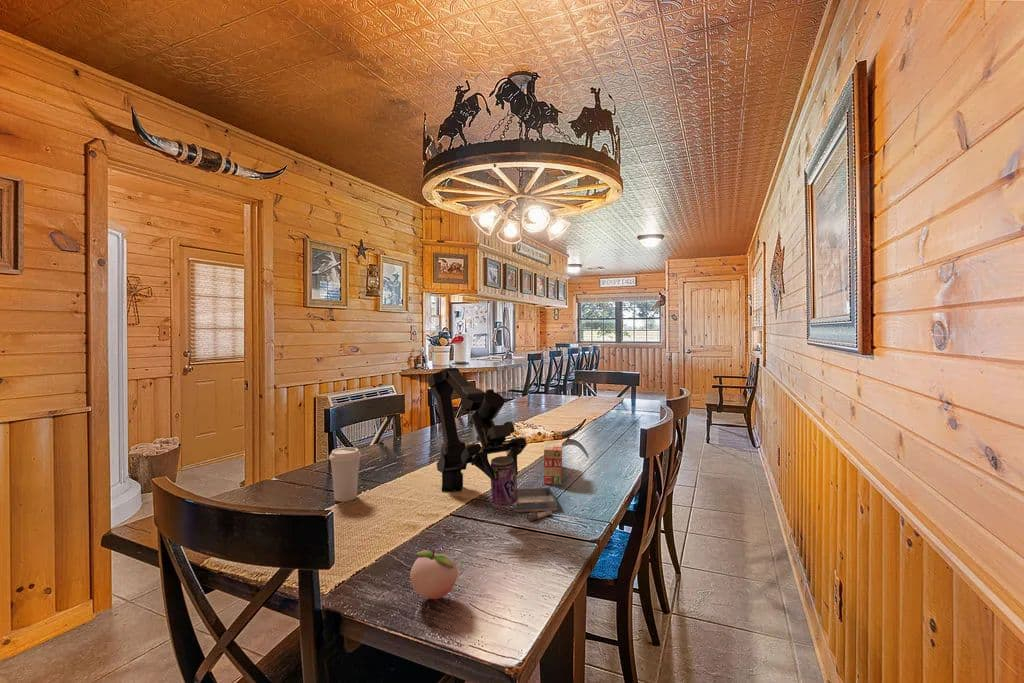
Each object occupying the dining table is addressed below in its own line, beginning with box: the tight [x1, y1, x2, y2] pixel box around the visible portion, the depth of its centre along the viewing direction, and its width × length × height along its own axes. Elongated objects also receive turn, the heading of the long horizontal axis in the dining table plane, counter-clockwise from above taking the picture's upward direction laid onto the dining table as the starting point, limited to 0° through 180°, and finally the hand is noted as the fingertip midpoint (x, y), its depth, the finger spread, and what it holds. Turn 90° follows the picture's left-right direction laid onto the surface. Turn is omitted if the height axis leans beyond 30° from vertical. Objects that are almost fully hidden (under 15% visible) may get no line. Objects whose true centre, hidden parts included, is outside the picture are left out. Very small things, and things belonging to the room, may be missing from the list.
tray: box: [513, 487, 559, 513], centre depth 144 cm, size 12×12×2 cm
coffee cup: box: [328, 446, 362, 503], centre depth 148 cm, size 10×10×15 cm
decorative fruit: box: [409, 549, 458, 600], centre depth 93 cm, size 9×8×10 cm
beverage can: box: [490, 455, 518, 507], centre depth 129 cm, size 7×7×12 cm
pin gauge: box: [526, 510, 553, 522], centre depth 133 cm, size 8×2×2 cm, turn 127°
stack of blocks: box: [543, 440, 563, 485], centre depth 171 cm, size 21×6×12 cm, turn 174°
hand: (505, 477), depth 127 cm, fingers closed on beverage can, 7 cm apart
